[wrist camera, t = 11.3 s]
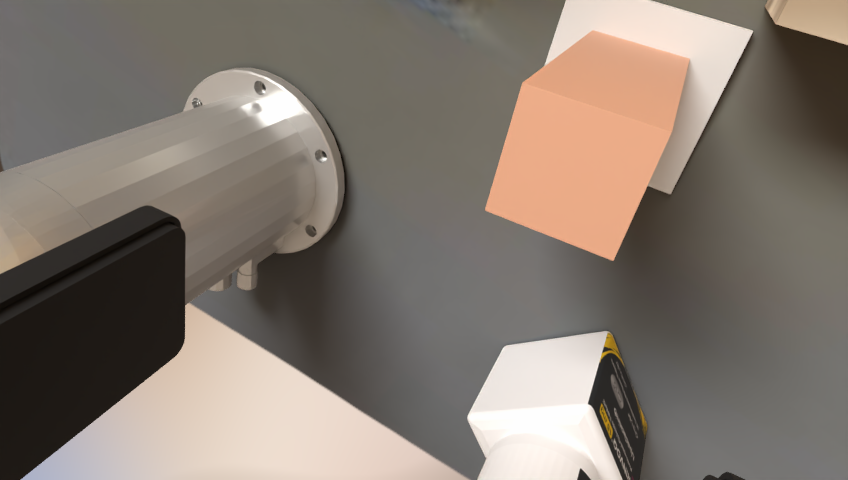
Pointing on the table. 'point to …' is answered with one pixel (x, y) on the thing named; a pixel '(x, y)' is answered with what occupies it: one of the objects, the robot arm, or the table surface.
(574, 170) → the plug
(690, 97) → the mat
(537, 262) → the table surface
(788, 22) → the beige square frame
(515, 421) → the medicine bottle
